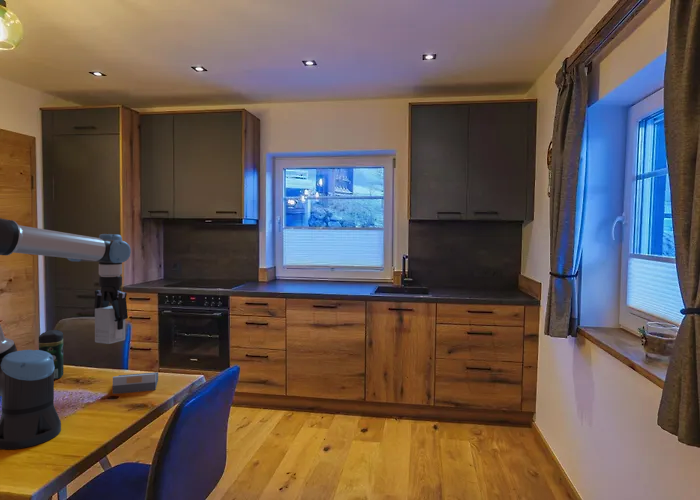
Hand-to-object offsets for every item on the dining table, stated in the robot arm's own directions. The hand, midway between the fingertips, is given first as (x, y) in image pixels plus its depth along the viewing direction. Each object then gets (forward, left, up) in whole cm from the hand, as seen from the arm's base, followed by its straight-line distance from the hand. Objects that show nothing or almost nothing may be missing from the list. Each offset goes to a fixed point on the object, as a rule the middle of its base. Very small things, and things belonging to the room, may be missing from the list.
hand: (110, 336), depth 157 cm
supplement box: (0, 0, -2) cm, 2 cm away
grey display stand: (-1, -9, -19) cm, 21 cm away
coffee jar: (+19, +24, -19) cm, 36 cm away
